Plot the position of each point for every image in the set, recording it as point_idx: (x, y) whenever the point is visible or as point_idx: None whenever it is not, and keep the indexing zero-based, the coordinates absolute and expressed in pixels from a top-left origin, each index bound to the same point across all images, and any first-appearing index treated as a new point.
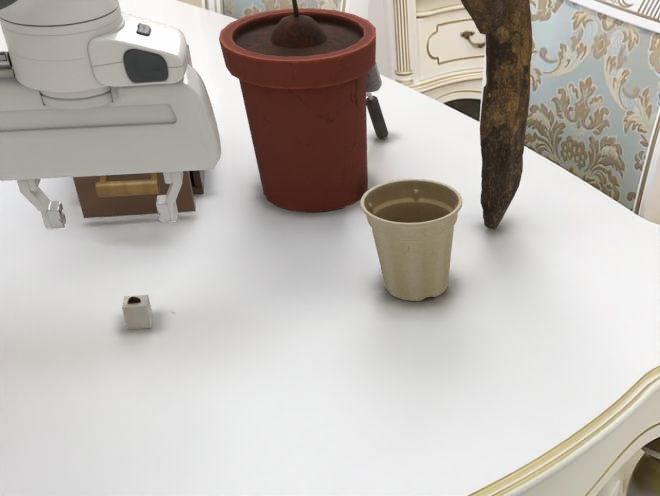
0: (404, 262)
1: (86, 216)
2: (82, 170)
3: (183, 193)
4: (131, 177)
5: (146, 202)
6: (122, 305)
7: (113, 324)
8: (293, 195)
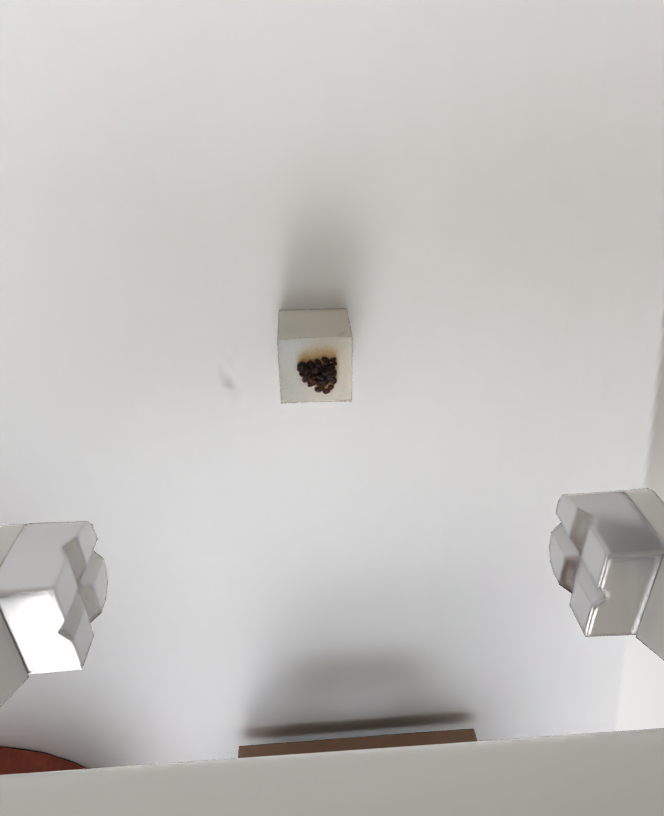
0: None
1: (468, 732)
2: (475, 791)
3: None
4: None
5: None
6: (351, 347)
7: (389, 339)
8: None
